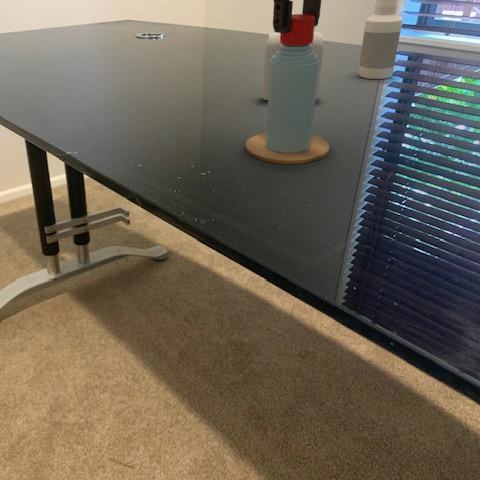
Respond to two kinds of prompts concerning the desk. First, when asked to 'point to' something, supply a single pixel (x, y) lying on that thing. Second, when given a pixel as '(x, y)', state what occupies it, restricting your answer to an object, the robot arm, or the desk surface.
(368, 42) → the beige tall canister
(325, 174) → the desk surface
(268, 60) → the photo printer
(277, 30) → the robot arm
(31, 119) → the desk surface
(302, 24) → the bottle cap
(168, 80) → the desk surface
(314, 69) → the bottle
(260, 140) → the coaster
